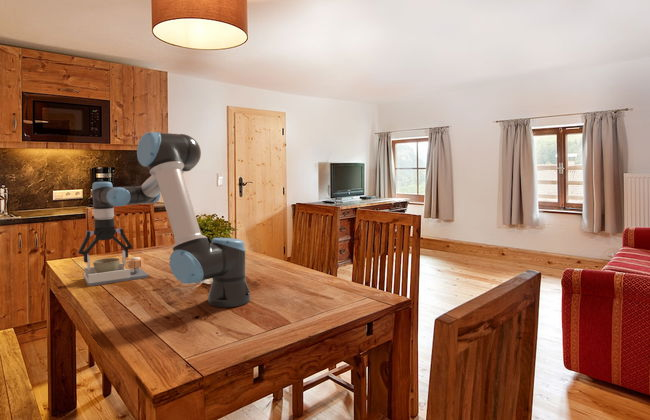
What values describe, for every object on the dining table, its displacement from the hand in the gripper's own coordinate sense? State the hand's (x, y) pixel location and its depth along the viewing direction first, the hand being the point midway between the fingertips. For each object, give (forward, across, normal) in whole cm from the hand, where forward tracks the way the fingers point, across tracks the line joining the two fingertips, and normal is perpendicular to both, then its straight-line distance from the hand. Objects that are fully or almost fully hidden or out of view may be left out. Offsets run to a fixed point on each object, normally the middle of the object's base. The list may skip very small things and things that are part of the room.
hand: (107, 267), depth 174 cm
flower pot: (+4, 0, 0) cm, 4 cm away
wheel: (+1, -12, 0) cm, 12 cm away
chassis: (+5, -3, 0) cm, 6 cm away
